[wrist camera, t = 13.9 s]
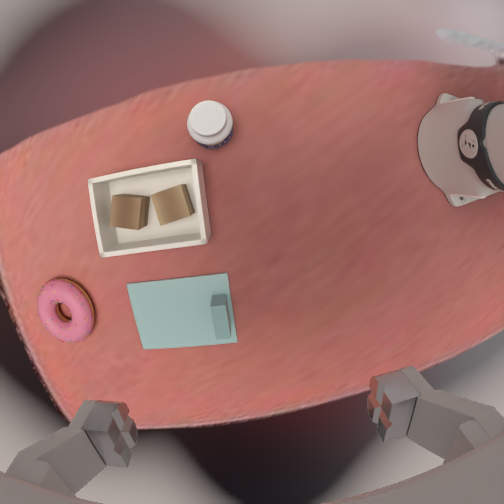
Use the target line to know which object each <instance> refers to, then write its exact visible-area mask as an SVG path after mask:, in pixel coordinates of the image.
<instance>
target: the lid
mask: <svg viewBox="0 0 504 504" xmlns="http://www.w3.org/2000/svg"><path fill="white" fill-rule="evenodd" d="M127 288H128V293H129V297H130V301H131V305H132V309H133V313H134V317H135V320H136V324H137V328H138V331H139V335H140V338H141V342H142V345H143V349H159V348H176V347H191V346H203V345H215V344H226V343H235V342H237V335H236V328H235V322H234V315H233V308H232V301H231V295H230V288H229V281H228V273H227V272H225V273H217V274H208V275H199V276H190V277H181V278H172V279H162V280H153V281H143V282H134V283H127Z"/></svg>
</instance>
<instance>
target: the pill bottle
mask: <svg viewBox="0 0 504 504" xmlns="http://www.w3.org/2000/svg"><path fill="white" fill-rule="evenodd" d="M187 128H188V131H189V133H190V135H191V137H192V138H193V139H194V140H195V141H196V142H197V143H198V144H199V145H201V146H202V147H204V148H207V149H218V148H221V147H223V146H225V145H226V144H227V143H228V142H229V141H230V139H231V137H232V134H233V120H232V116H231V113H230V111H229V110H228V109H227V108H226V107H225V106H224V105H223V104H221V103H218V102H215V101H202V102H200V103H198V104H197V105H195V106H194V107H193V109H192V110H191V112H190V114H189V116H188V120H187Z"/></svg>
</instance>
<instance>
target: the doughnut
mask: <svg viewBox="0 0 504 504" xmlns="http://www.w3.org/2000/svg"><path fill="white" fill-rule="evenodd" d="M58 303H60V304H61V303H63V304H65V305H66V306H67V308H69V311H71V315H72V317H71V318H72V319H71V320H68V319H66V318H65V317H63V316H62V314H61V313H60V311H59V308H58ZM37 307H38V313H39V314H38V315H39V317H40V319H41V321H42V323H43V325H44V326H45V328H46V329H47V330H48V331H49V333H50V334H52V335H53V336H54V337H56V338H57V339H58V340H61V341H63V342H67V343H68V344H69V343H75V342H79V341H82V340H84V339H85V338H87V337H88V336H89V334H90V333H91V331H92V328H93V325H94V309H93V306H92V303H91V301H90V299H89V297H88V295H87V294H86V292H85V291H84V290H83V289H82V288H81V287H80V286H79V285H77V284H76V283H74V282H72V281H70V280H67V279H53V280H50V281H48V282H47V283H46V284H45V285H44V286H43V287H42V289H41V291H40V293H39V295H38V302H37Z"/></svg>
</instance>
